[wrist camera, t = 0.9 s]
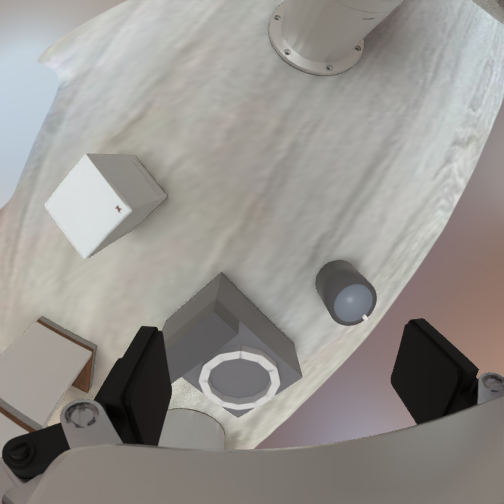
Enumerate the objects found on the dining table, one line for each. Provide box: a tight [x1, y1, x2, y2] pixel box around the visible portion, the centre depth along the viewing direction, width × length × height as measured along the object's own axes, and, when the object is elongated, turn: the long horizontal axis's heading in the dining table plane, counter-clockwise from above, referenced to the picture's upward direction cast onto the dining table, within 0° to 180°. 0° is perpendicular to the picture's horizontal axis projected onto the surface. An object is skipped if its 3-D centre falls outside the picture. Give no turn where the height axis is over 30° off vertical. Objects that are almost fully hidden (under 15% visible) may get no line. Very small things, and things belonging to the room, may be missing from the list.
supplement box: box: [44, 154, 168, 260], centre depth 29 cm, size 7×7×13 cm
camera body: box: [162, 272, 302, 417], centre depth 36 cm, size 11×15×11 cm
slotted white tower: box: [0, 316, 97, 458], centre depth 25 cm, size 11×11×35 cm
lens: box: [316, 260, 377, 326], centre depth 36 cm, size 6×6×7 cm
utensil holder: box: [158, 409, 225, 450], centre depth 39 cm, size 15×15×18 cm
